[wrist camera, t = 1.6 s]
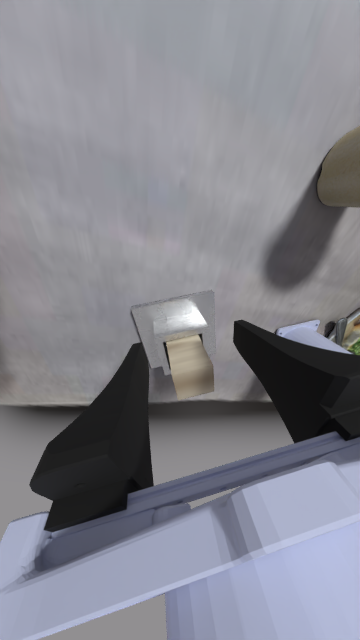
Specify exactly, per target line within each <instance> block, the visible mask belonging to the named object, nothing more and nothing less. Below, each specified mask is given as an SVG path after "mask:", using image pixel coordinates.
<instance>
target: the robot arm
mask: <svg viewBox="0 0 360 640" xmlns="http://www.w3.org/2000/svg"><path fill="white" fill-rule="evenodd" d="M319 323H320V321H319V320H313V321H309V322H304V323H300V324H296V325H292V326H287V327H283V328H279V329H278V330H277V333H276V334H274V333H271V332H269V331H266V330H264V329H262V328H260V327H257V326H255V325H253V324H251V323H249V322H246V321H244V320H238V321H234V337H233V342H234V344H235V346H236V348H237V350H238V351H239V353H240V354H241V356H242V357H243V359H244V360H245V361H246V363H247V364H248V365H249V366H250V368H251V369H252V370H253V372H254V373H255V374H256V376H257V377H258V379H259V380H260V381H261V383H262V385H263V386H264V388H265V390H266V391H267V393H268V395H269V396H270V398H271V400H272V401H273V403H274V405H275V407H276V409H277V410H278V412H279V414H280V416H281V418H282V420H283V421H284V423H285V425H286V427H287V429H288V431H289V433H290V435H291V437H292V439H293V441H294V444H291V445H288V446H285V447H281V448H278V449H275V450H271V451H268V452H265V453H261V454H258V455H255V456H252V457H248V458H245V459H242V460H239V461H235V462H232V463H229V464H225V465H222V466H219V467H215V468H212V469H209V470H206V471H202V472H199V473H195V474H192V475H189V476H186V477H183V478H179V479H176V480H173V481H169V482H166V483H162V484H159V485H156V486H154V485H153V474H152V464H151V451H150V439H149V422H148V391H149V366H148V360H147V357H146V354H145V352H144V349H143V346H142V343H141V342H140V343H136V344H133V345H132V347H131V348H130V350H129V352H128V354H127V356H126V357H125V359H124V361H123V363H122V364H121V366H120V368H119V369H118V371H117V372H116V374H115V375H114V377H113V378H112V379H111V381H110V382H109V383H108V385H107V386H106V387H105V389H104V390H103V391H102V392H101V393H100V395H99V396H98V397H97V398H96V399H95V400H94V401H93V402H92V403H91V405H90V406H89V407H88V408H87V409H86V410H85V411H84V412H83V413H82V414H81V415H80V416H79V417H78V418H77V419H75V420H74V421H73V423H71V424H70V425H69V426H68V427H67V428H66V429H65V430H63V431H62V432H61V433H60V434H59V435H58V436H57V437H55V438H54V439H53V440H52V441H51V442H49V443H48V445H47V447H46V449H45V451H44V453H43V455H42V457H41V459H40V462H39V464H38V466H37V468H36V471H35V473H34V475H33V477H32V479H31V482H30V487H31V489H32V491H33V492H35V493H37V494H39V495H41V496H44V497H46V498H48V499H50V500H53V503H52V507H51V509H50V512H40V513H36V514H32V515H29V516H26V517H22V518H19V519H16V520H13V521H11V522H10V523H9V525H8V527H7V529H6V531H5V533H4V536H3V538H2V540H1V542H0V640H37V639H40V638H43V637H45V636H48V635H51V634H54V633H56V632H59V631H62V630H65V629H68V628H70V627H73V626H76V625H79V624H81V623H84V622H87V621H90V620H92V619H95V618H98V617H101V616H104V615H106V614H109V613H112V612H115V611H117V610H120V609H123V608H126V607H128V606H131V605H134V604H137V603H139V602H142V601H145V600H148V599H151V598H154V597H156V596H159V595H162V594H165V604H166V623H167V640H360V355H354V354H352V353H350V352H349V351H347V350H345V349H344V348H342V347H340V346H339V345H337V344H336V343H334V342H332V341H331V340H329V339H327V338H326V337H324V336H322V335H321V334H319V333H317V332H316V331H317V328H318V325H319ZM241 485H242V486H241ZM238 486H240V487H239V488H237V489H236V490H234V491H232V492H231V493H229V494H226V495H224V496H222V497H219V498H217V499H214V500H212V501H210V502H207V503H205V504H202V505H200V506H198V507H195V508H193V509H191V508H190V505H189V504H188V503H187V502H191V501H194V500H197V499H200V498H203V497H206V496H210V495H213V494H216V493H219V492H222V491H226V490H229V489H232V488H235V487H238ZM185 503H187V504H185Z"/></svg>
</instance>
